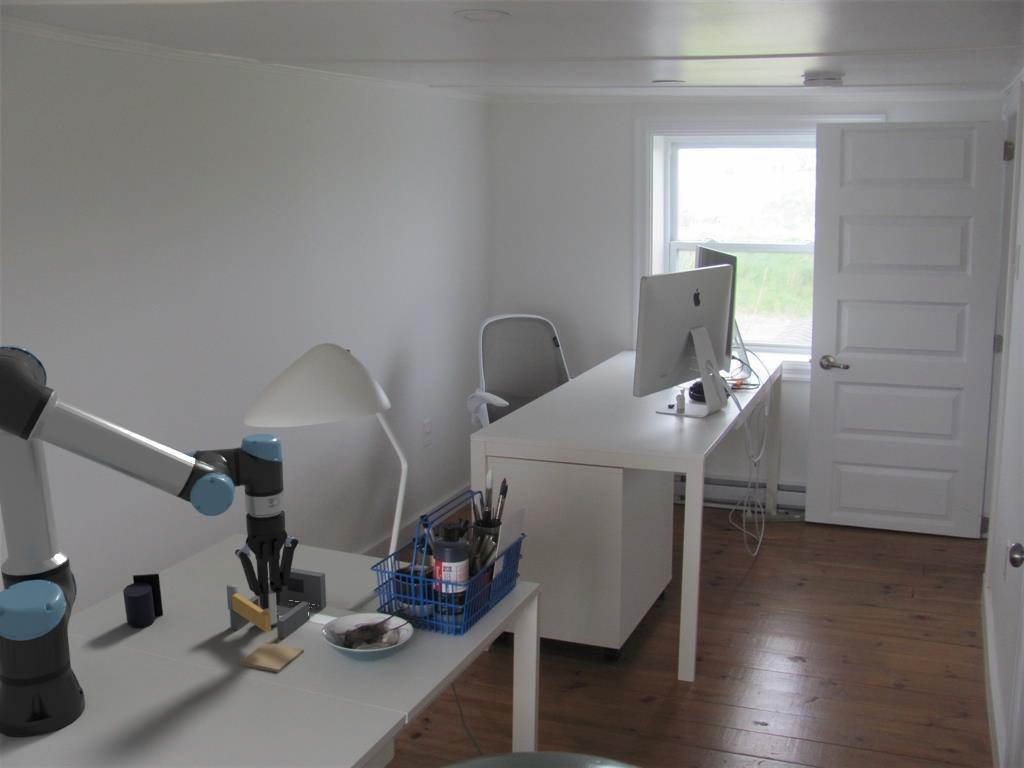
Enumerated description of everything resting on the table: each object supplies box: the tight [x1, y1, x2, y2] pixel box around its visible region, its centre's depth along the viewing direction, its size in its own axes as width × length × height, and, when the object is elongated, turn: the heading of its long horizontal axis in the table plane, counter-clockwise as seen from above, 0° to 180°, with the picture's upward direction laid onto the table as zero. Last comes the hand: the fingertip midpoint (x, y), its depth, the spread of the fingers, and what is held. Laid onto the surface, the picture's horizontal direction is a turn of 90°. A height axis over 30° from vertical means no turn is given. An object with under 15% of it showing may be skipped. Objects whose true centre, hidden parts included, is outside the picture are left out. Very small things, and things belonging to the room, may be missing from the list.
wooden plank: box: [226, 583, 272, 633], centre depth 210 cm, size 16×2×5 cm, turn 42°
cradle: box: [229, 565, 327, 640], centre depth 221 cm, size 17×14×8 cm
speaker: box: [122, 573, 164, 629], centre depth 218 cm, size 8×6×10 cm
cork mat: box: [239, 641, 305, 673], centre depth 203 cm, size 9×9×1 cm
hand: (271, 621), depth 206 cm, fingers closed
